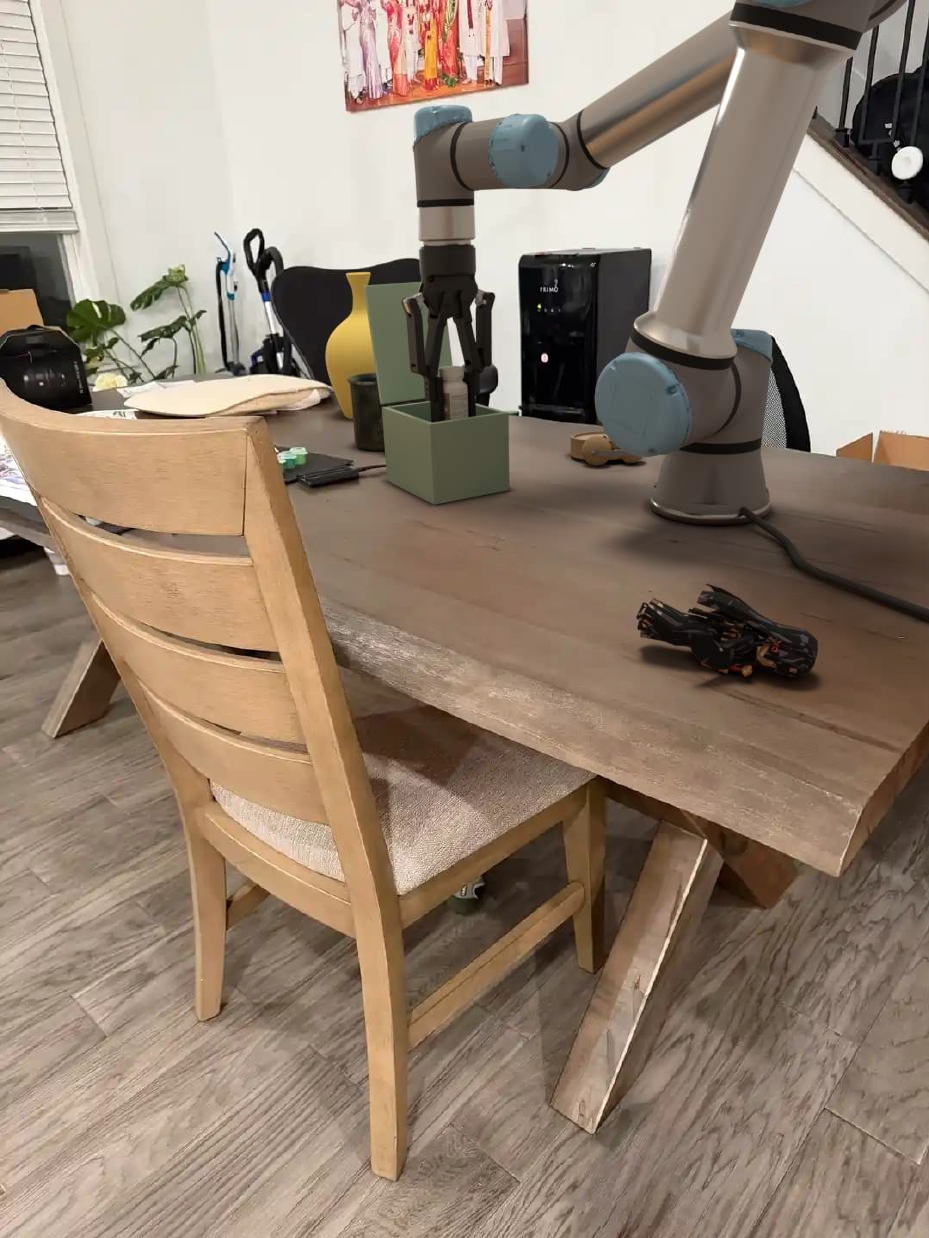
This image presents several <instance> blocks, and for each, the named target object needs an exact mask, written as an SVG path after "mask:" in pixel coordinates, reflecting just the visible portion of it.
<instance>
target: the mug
mask: <svg viewBox="0 0 929 1238" xmlns="http://www.w3.org/2000/svg"><path fill="white" fill-rule="evenodd" d="M347 381H348V383H350V390H351V401H352V412H353V419H352V421H353V432H354V434H353V435H354V444H355V445H356V447H357V448H359V449H361V450H365V451H385V444H384V431H383V417H382V407H388V406H395V405H403V404H409V400H408V401H401V402H393V403H386V404H380V397H379V390H378V383H377V376H376V373H366V374H359V375H354V376H351V377H349V378H348V379H347Z"/></svg>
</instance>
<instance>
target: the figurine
mask: <svg viewBox="0 0 929 1238" xmlns="http://www.w3.org/2000/svg"><path fill="white" fill-rule="evenodd" d="M705 585H706V586H708V587H710V588H711V590H712V591H709V590H702V591H701V592H700V594H699V595H698V598H697V601H696V604H698V605H700V606H703V607H707V608H710V609H713V610H710V611H709V610H704V609H701V608H698V607H692V608H689V609H688V610H687V612H683V611H681V610H679V609H676V608H675V607H673V606H671V605H669V604H667V603H665V602H663V601H661V600H660V599H658V598H656V597H652V599H651V600H650V602H648V603H647V602H642V603H641V606H640V608H639V610H638V612H637V615H636V616H635V618H636V619H637V621H638V623H637V627H636V629H637V631H640V638H644V639H648V640H654V641H659V642H664V643H667V644H669V645H672V646H674V647H687V648H690V651H691V653H692V654H693V655H694V658H695V659H697V660H698V662H699V663H700V664H701V666H704V667H706V668H709V669H711V670H714V671H718V672H722V673H725V674H728V673H729V672H731V673H735V674H739V675H743V676H744V677H748V676H750V675H751V674H752V673H753V671H754V667H755V664H756V660H758V662H759V663H760V664H761V665H763V666H766V667H771V668H773V669H774V670H773V672H774V673H777V674H779V675H781V676H787V677H789V678H791V677H793V678H798V677H802V676H804V675H807V674H809V672H811V671H812V670H813V668H814V666H815V664H816V659H817V658H818V653H819V641H818V639H817V638H816V637H815V635H813V634H812V633H811V632H809V631H808V630H807V629H804V628H800V627H795V626H791V625H787V624H782V623H779V622H777V621H773V620H771V619H770V618H768V617H766V616H764V615H762V614H761V613H759V612H757V610H755V609H754V608H753V607H752V606H750V605H749V604H748V603H747V602H745V601H744V600H743V599H742V598H740V597H739V596H737V595H736V594H734V593H733V592H731V591H728V590H726V589H724V588H722V587H719V586H715V585H712V584H710V583H705ZM759 647H760V648H759ZM758 648H759V650H758Z"/></svg>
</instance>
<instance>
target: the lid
mask: <svg viewBox="0 0 929 1238" xmlns="http://www.w3.org/2000/svg"><path fill="white" fill-rule="evenodd" d="M420 285H421V281H419V282H418V281H414V282H400V283H399V282H398V283H386V284H385V283H383V284H371V285H369V284H368V286H364V292H365V299H366V306H367V313H368V320H369V327H370V334H371V341H372V348H373V355H374V362H375V369H376V376H377V383H378V390H379V397H380V404H386V403H393V402H401V401H408V402H409V401H416V400H423V399H425V392H424V390H425V389H424V378H423V376H422V375H420V374H416V373H413V372H411V370H410V361H409V347H408V333H407V319H406V314H405V312H404V309H403V306H402V304H401V300H402V299H403V298H404V297H408V298H409V297H411V296H413V295H415V294H417V293H418V292H419V288H420ZM422 306H423V309H422V310H421V313H422V319H423V333H424V349H425V346H426V339H427V332H428V323H427V319H428V312H429V310H428V308H427V307H426V305H425V304H424V302H423V303H422ZM444 366H454V365H453V356H452V348H451V340H450V332H449V323H448V321H447V325H446V326H445V328H444V334H443V341H442V348H441V354H440V361H439V368H440V367H444ZM439 368H438V375H437V377H440V376H439Z"/></svg>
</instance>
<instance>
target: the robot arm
mask: <svg viewBox="0 0 929 1238" xmlns="http://www.w3.org/2000/svg"><path fill="white" fill-rule="evenodd" d="M907 1H908V0H735V2H734V5H733V8H732V9H730V10H729V11H727V12H726V13H725V14H723V15H722V16H720V17H718V18H717V19H716V20H714V21H712V22H711V23H710V24H708V25H706V26H705V27H703V28H702V29H701V30H699V31H698V32H696V33H695V34H693V35H692V36H690V37H689V38H687V39H685V40H684V41H682V42H681V43H680V44H678V45H676V46H675V47H673V48H672V49H670V50H669V51H668V52H666V53H665V54H663V55H661V56H660V57H659V58H657V59H656V60H654V61H652V62H651V63H649V64H648V65H646V66H645V67H643V68H642V69H640V70H639V71H637V72H635V74H633V75H631V76H630V77H629V78H626V80H624V81H622V82H621V83H620V84H618V85H616V86H615V87H613V88H612V89H611V90H609V91H607V92H606V93H605V94H603V95H601V96H600V97H599V98H597V99H596V100H594V101H593V102H591V103H590V104H588V105H586V106H585V107H584V108H582V109H580V111H578V112H576V113H574V115H571V116H570V117H568V118H567V119H565V120H562V121H549V120H547V117H545V116H544V115H543V114H542V115H541V114H539V113H524V114H522V113H512V114H510V115H509V116H503V117H497V118H491V119H485V120H478V121H473V113H472V110H471V109H470V108H469V107H468V106H465V105H458V104H440V105H429V106H424V107H421V108H419V109H418V110H417V111H416V112H415V113H414V116H413V122H412V123H413V125H412V135H413V136H412V153H413V162H414V164H413V165H414V178H415V194H416V217H417V238H418V241H419V242H423V243H422V246H420V247H419V248H418V260H419V263H418V264H419V274H420V280H421V281H420V282H421V285H420V288H419V292H418V293H417V294H415V295H413V296H411V297H409V298H408V297H404V298H403V299H402V300H401V304H402V306H403V309H404V312H405V314H406V319H407V333H408V347H409V361H410V370H411V372H413V373H416V374H420V375H422V376H423V378H424V389H425V390H424V392H425V398H424V399H425V401H430V409H431V422H432V423H434V422H441V421H445V418H444V394H443V378H441V377H437V375H438V368H439V361H440V354H441V348H442V341H443V334H444V328H445V326H446V325H447V322H448V320H450V319H451V318H452V321H453V323H454V324H455V329H456V332H457V336H458V337H457V338H458V341H459V346H460V349H461V355H462V359H463V364H464V368H465V370H466V371H464V376H463V377H464V378H462V381H463V382H465V383H466V384H467V389H468V417H474V416H476V404H477V403H476V399H477V398H476V397H477V396H480V392H481V385H480V384H481V380H480V379H481V378H480V375H481V374H483V373H484V371H485V368H490V367H491V366H492V364H493V307H494V305H495V304H494V303H495V300H496V294H495V292H493V291H485V290H483V289H481V288H479V286H478V283H477V281H476V272H477V251H476V248H477V247H476V246H475V245H474V244H472V240H475V239H476V236H477V235H476V215H475V214H476V213H475V192H478V191H490V190H491V191H493V190H559V191H560V190H561V191H562V190H563V191H564V190H565V191H569V192H579V191H583V190H588V189H589V190H590V189H592V188H595V187H597V186H598V185H600V184H601V183H602V182H603V181H604V180H605V178H606V177H607V176H608V174H609V172H610V170H611V168H612V167H613V166H615V165H617V164H618V163H620V162H622V161H625V160H626V159H627V158H629V157H631V156H633V155H634V154H636V153H638V152H640V151H641V150H643V149H645V148H647V147H648V146H650V145H652V144H653V143H655V142H657V141H658V140H660V139H662V138H664V137H665V136H667V135H669V134H671V133H672V132H674V131H676V130H677V129H679V128H681V127H683V126H684V125H686V124H689V122H691V121H693V120H695V119H696V118H698V117H700V116H701V115H703V114H705V113H707V112H708V111H710V110H712V109H714V108H715V107H718V109H717V113H716V115H715V118H714V121H713V124H712V127H711V130H710V134H709V137H708V138H707V139H708V140H707V143H706V146H705V148H704V152H703V155H702V158H701V161H700V165H699V167H698V170H697V174H696V177H695V180H694V183H693V186H692V188H691V192H690V195H689V198H688V201H687V204H686V207H685V211H684V213H683V217H682V219H681V222H680V226H679V228H678V231H677V235H676V238H675V240H674V245H673V247H672V250H671V253H670V257H669V259H668V262H667V264H666V268H665V271H664V275H663V277H662V281H661V283H660V286H659V290H658V292H657V296H656V299H655V302H654V305H653V307H652V309H650V310H649V311H647V312H645V313H643V314H641V315H639V316H638V317H636V318H635V320H634V323H633V326H632V328H631V331H630V334H629V338H628V341H627V344H626V347H625V350H624V352H623V353H621V354H620V355H618V356H616V357H615V358H614V359H612V360H611V361H610V362H609V363H607V365H606V366H605V367H604V368H603V370H602V371H601V373H600V374H599V377H598V379H597V381H596V386H595V391H594V392H595V393H594V407H595V413H596V416H597V419H598V421H599V422H600V423H601V426H602V429H603V430H602V431H604V432H605V433H606V435H607V436H608V438H609V439H610V440H611V441H612V442H613V443H614V444H615V445H616V446H617V447H619V448H620V449H622V450H623V451H625V452H627V453H629V454H632V455H635V456H639V457H642V458H652V457H657V456H664V459H663V461H662V464H661V468H660V470H659V473H658V477H657V481H656V482H655V483H654V484H653V486H652V488H651V494H650V504H649V506H650V508H651V510H652V511H653V512H654V513H656V514H657V515H659V516H661V517H663V518H666V519H670V520H673V521H677V522H682V523H687V524H695V525H705V526H729V525H740V524H747V523H751V522H752V523H753V524H755V525H757V526H758V527H759V528H761V529H762V530H763V531H765V532H766V533H768V534H769V535H770V536H772V537H773V538H774V539H776V540H777V541H778V542H780V543H781V544H782V545H783V546H784V547H785V549H786V550H787V552H788V554H789V557H790V559H791V560H792V561H793V563H794V564H795V565H796V566H798V567H799V568H800V569H801V570H803V571H804V572H806V573H807V574H810V575H812V576H814V577H816V578H818V579H821V580H823V581H825V582H829V583H831V584H834V585H836V586H840V587H843V588H845V589H848V590H851V591H853V592H856V593H859V594H860V595H864V596H866V597H869V598H871V599H874V600H876V601H879V602H882V603H884V604H886V605H889V606H892V607H895V608H897V609H900V610H903V611H906V612H907V613H911V614H913V615H916V616H918V617H921V618H924V619H926V620H929V608H927V607H924V606H922V605H919V604H917V603H913V602H911V601H908V600H905V599H902V598H900V597H899V596H895V595H892V594H889V593H887V592H884V591H881V590H879V589H876V588H874V587H871V586H868V585H866V584H863V583H860V582H858V581H855V580H853V579H849V578H846V577H844V576H841V575H838V574H835V573H832V572H829V571H826V570H824V569H822V568H820V567H817V566H815V565H813V564H811V563H810V562H808V561H807V560H805V559H804V558H803V557H802V556H801V555H800V553H799V551H798V549H797V547H796V545H795V544H794V543H793V542H792V541H791V539H790V538H789V537H788V536H786V535H785V534H784V533H783V532H781V531H780V530H779V529H777V528H776V527H774V526H773V525H771V524H770V523H769V522H768V521H765V520H764V519H763V518H765V517H766V516H767V515H768V514H769V511H770V504H771V503H770V501H771V500H770V498H771V497H770V492H769V488H768V487H767V484H766V477H765V470H764V464H763V460H762V454H761V453H762V440H763V433H764V425H765V417H766V410H767V409H766V408H767V402H768V392H769V385H770V376H771V369H772V365H773V362H774V359H773V355H772V353H773V338H772V336H771V334H770V333H769V332H767V331H765V330H761V329H749V328H732V326H733V323H734V321H735V319H736V316H737V313H738V310H739V308H740V305H741V303H742V300H743V297H744V296H745V295H744V294H745V293H746V289H747V287H748V285H749V282H750V279H751V277H752V274H753V272H754V269H755V267H756V263H757V261H758V258H759V256H760V253H761V251H762V248H763V245H764V242H765V240H766V238H767V235H768V233H769V229H770V227H771V225H772V222H773V219H774V218H775V217H774V216H775V214H776V212H777V209H778V206H779V204H780V202H781V199H782V196H783V193H784V191H785V189H786V188H785V187H786V186H787V184H788V182H789V181H788V180H789V178H790V175H791V172H792V170H793V168H794V165H795V163H796V160H797V157H798V154H799V152H800V149H801V147H802V144H803V142H804V139H805V137H806V134H807V132H808V128H809V126H810V124H811V121H812V118H813V116H814V113H815V111H816V107H817V105H818V102H819V100H820V97H821V96H822V95H821V94H822V93H823V90H824V88H825V84H826V82H827V79H828V77H829V74H830V73H832V71H833V70H834V69H835V68H836V67H838V66H839V65H841V64H843V63H844V62H846V61H848V60H849V59H851V58H852V57H854V55H855V54H856V52H857V50H858V47H859V45H860V42H861V40H862V38H863V35H864V34H866V33H868V32H869V31H871V30H873V29H874V28H876V27H878V26H879V25H881V24H882V23H884V22H885V21H886V20H887V19H889V18H891V17H892V16H893V15H895V14H896V13H897V11H899V10H900V9H901V8H902V7H903V6H905V4H906V3H907ZM423 302H424V304H425V305H426V307H427V308H428V310H429V312H428V319H427V323H428V332H427V339H426V346H425V349H424V333H423V319H422V313H421V310H422V309H423V306H422V303H423ZM473 303H474V304H475V315H474V316H475V332H474V328H473V315H472V311H471V307H472V305H473Z"/></svg>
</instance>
